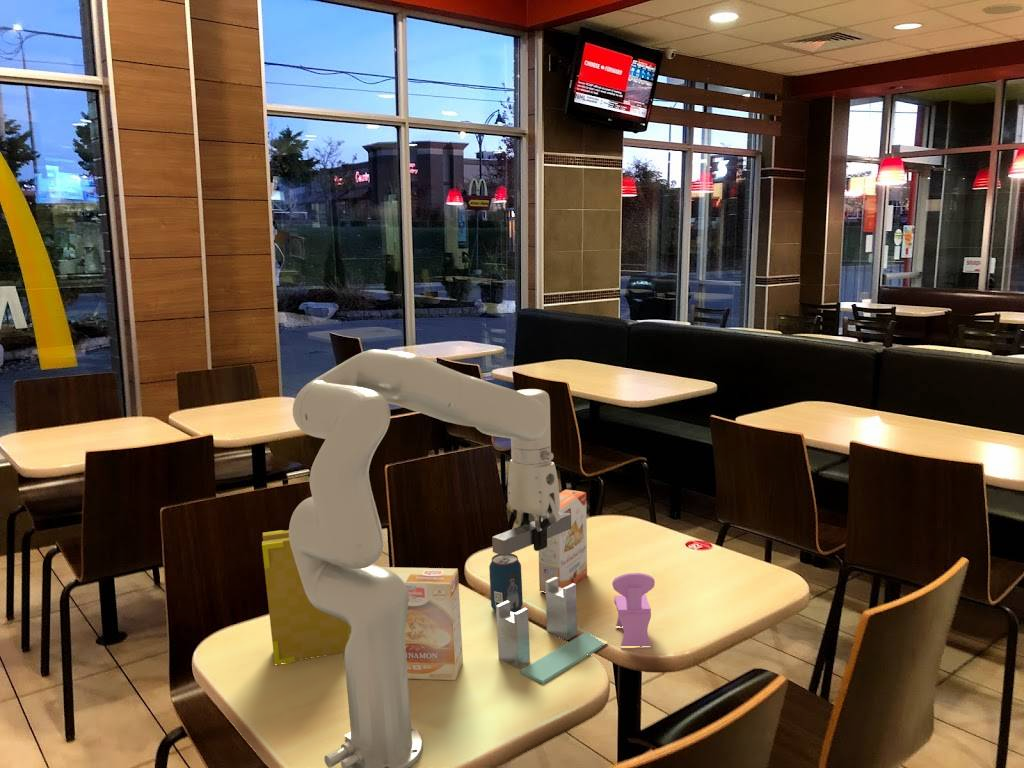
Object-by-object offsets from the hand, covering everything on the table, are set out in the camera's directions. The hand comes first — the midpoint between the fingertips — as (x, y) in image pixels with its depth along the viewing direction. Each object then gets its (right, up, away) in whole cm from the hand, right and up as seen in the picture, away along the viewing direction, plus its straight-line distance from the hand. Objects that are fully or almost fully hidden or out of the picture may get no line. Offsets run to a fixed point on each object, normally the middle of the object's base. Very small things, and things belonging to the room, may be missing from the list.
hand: (533, 545), depth 155 cm
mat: (+6, -22, -1) cm, 23 cm away
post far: (+6, -20, +9) cm, 23 cm away
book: (-43, -23, +7) cm, 49 cm away
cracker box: (+8, -16, +32) cm, 37 cm away
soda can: (-5, -18, +20) cm, 28 cm away
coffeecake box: (-21, -23, -2) cm, 32 cm away
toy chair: (+20, -20, +6) cm, 29 cm away
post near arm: (-4, -22, 0) cm, 22 cm away
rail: (0, +1, 0) cm, 1 cm away
